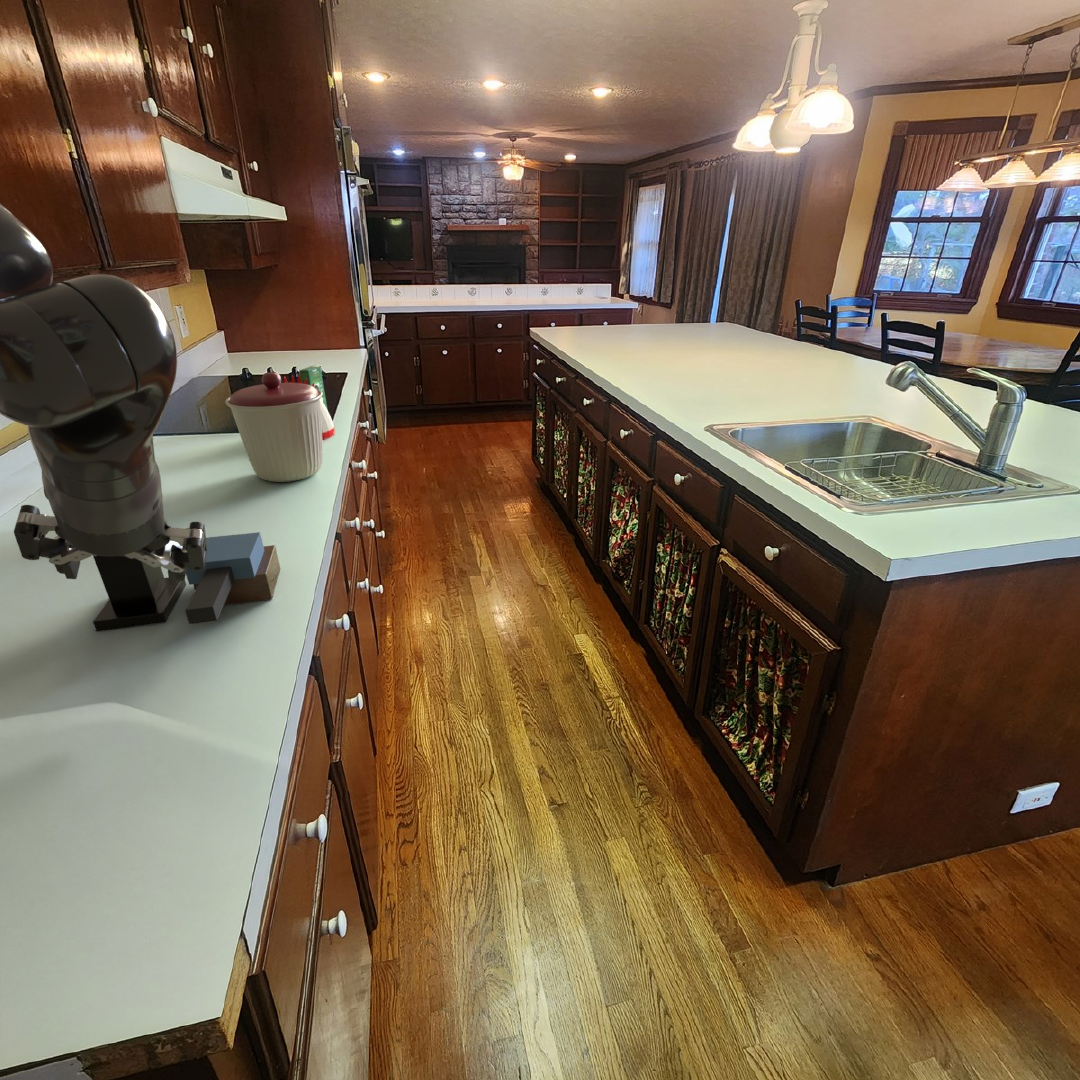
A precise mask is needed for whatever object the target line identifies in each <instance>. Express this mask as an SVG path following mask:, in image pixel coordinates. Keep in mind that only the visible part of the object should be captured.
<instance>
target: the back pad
mask: <svg viewBox="0 0 1080 1080" xmlns="http://www.w3.org/2000/svg"><path fill="white" fill-rule="evenodd" d="M206 541H207V554H206V561H205V568H204V570H203V571H193V570H191V569H190V568H187V569H186V576H185V577H186V579H187V582H188V585H189V586H191V585H192V586H193V584H198V586H197V588H196V590H195V589H194V592H193V593H192V596H191V598H190V600H189V601H188V603H187V605H186V607H185V609H184V613H185V615H186V619H187V623H188V625H197V624H203V623H204V624H205V623H211V622H217V621H218V620H219V617H220V614H221V612H222V610H223V607H224V606H225V605H224V603H225V601H226V598H227V596H228V594H229V591H230V589H231V587H232V584H233V582H234V580H236V579H244V578H253V577H255V575H256V572H257V570H258V567H259V564H260V561H261V559H262V556H263V553H264V547H263V546H264V543H263V538H262V533H261V532H260V531H259V532H257V531H256V532H248V533H239V534H230V535H229V534H228V535H219V536H209V537H206Z"/></svg>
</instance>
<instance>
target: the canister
mask: <svg viewBox="0 0 1080 1080" xmlns="http://www.w3.org/2000/svg"><path fill="white" fill-rule="evenodd" d="M261 382H262V384H255V385H252V386H248V387H244V388H241V389H239V390H236V391H235V392H233V393H232V394H231V395H230V396H229V397H226V399H225V400H224V403H225V405H226V406H227V407H229V408H230V410H231V414H232V417H233V419H234V422H235V425H236V428H237V430H238V433H239V436H240V439H241V441H242V445H243V447H244V449H245V452H246V455H247V457H248V460H249V462H250V465H251V467H252V470H253V471H254V473H255V474H256V475H257V476H258V477H259V478H260V479H262V480H264V481H267V482H275V483H278V482H279V483H286V482H287V483H288V482H295V481H299V480H305V479H308V478H310V477H313V476H314V475H316V474H317V473H318V472H319V471H320V470H321V468H322V466H323V461H324V449H323V448H324V447H323V443H324V442H323V440H322V423H321V406H320V398H321V397H322V395H323V393H322V391H320V390H318V389H315V388H314V387H313V386H310V385H307V384H301V383H298V382H295V383H292V382H288V383H285V382H282V377H281V375H280V374H279V373H277V372H274V371H273V372H272V371H269V372H266V373H264V374H263V375H262V377H261Z"/></svg>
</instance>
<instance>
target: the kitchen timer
mask: <svg viewBox="0 0 1080 1080" xmlns="http://www.w3.org/2000/svg"><path fill="white" fill-rule="evenodd" d="M283 379H284V381H283V383H289V381H288V380H287V377H286V376H283ZM307 382H308V380H307V379H306V380H305V382H304V384H307ZM291 383H296V380H295V378H294V375H293V374H292V375H291ZM297 383H301V384H303V383H302V381H301V378H300V374H298V375H297ZM312 386H313V387H314V383H313V384H312ZM320 406H321V423H322V441H324V440H326V439H329V438H331V437H333V436H335V434H336V430H335V424H334V421H333V418H332V416H331V414H330V412H329V410H328V407H327V408H326V407H325V405H324V404H323V402H322V401H321V400H320Z"/></svg>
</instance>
